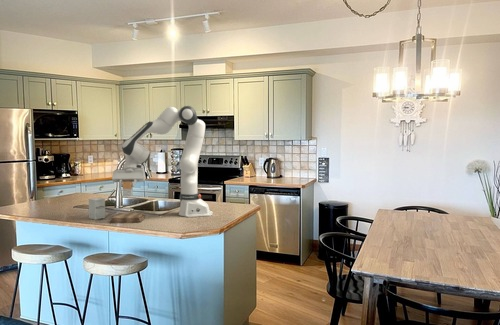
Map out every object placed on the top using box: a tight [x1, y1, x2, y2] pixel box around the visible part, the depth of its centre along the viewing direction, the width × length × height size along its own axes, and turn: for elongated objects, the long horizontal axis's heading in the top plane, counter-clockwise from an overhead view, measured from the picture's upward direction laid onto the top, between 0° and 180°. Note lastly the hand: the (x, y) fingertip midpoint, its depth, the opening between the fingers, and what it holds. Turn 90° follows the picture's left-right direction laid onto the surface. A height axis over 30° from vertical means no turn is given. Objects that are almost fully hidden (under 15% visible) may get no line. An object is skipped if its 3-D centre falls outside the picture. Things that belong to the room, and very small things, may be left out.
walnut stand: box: [109, 212, 146, 224], centre depth 234 cm, size 18×16×3 cm
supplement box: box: [88, 197, 106, 220], centre depth 238 cm, size 7×7×13 cm
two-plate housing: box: [122, 181, 133, 197], centre depth 232 cm, size 5×4×9 cm
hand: (127, 186), depth 231 cm, fingers closed on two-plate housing, 5 cm apart
